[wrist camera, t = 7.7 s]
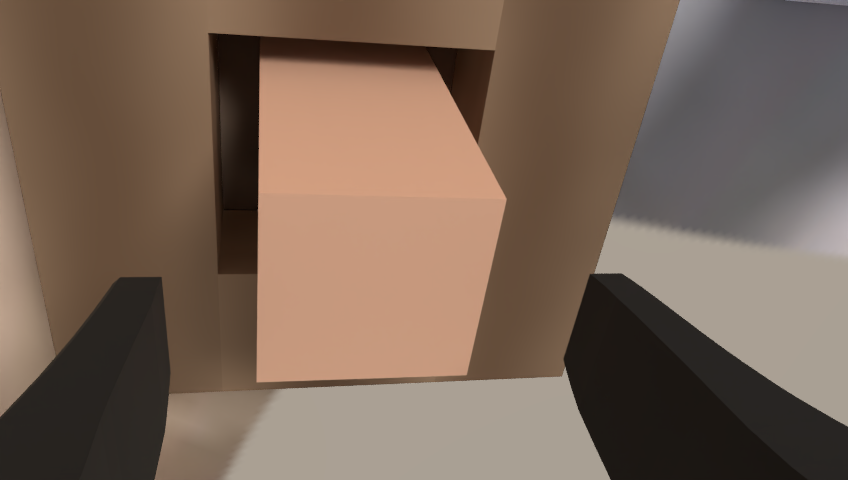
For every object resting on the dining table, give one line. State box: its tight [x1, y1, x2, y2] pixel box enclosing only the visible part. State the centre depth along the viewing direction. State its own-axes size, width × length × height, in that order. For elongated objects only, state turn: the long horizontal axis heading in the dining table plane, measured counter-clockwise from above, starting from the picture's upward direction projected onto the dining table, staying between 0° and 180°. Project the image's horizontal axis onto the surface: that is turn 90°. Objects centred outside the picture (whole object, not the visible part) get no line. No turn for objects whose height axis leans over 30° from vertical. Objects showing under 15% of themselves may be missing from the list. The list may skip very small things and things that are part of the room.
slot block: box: [0, 0, 680, 394], centre depth 18 cm, size 14×14×3 cm
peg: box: [257, 36, 507, 382], centre depth 16 cm, size 4×4×8 cm
